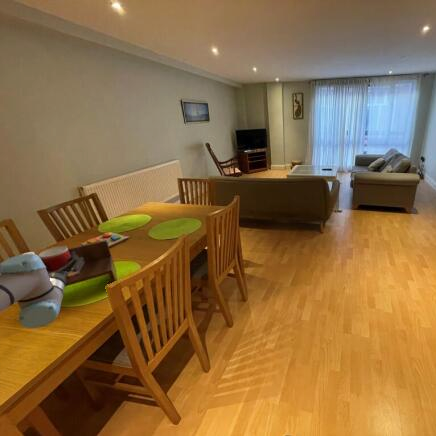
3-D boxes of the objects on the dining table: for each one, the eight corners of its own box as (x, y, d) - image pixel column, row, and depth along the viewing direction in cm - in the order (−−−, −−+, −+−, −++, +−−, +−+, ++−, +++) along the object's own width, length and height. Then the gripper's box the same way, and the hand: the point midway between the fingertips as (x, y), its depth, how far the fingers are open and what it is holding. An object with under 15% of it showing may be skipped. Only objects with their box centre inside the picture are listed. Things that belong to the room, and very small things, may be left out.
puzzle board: (102, 251, 136) (100, 246, 135) (80, 246, 142) (78, 241, 141) (130, 238, 152) (129, 233, 150) (109, 234, 157) (107, 229, 156)
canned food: (81, 269, 95) (72, 245, 91) (68, 281, 88) (56, 255, 84) (60, 271, 94) (49, 246, 90) (44, 284, 87) (31, 257, 83)
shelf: (29, 314, 92) (9, 277, 85) (38, 292, 104) (21, 258, 97) (117, 286, 107) (106, 253, 100) (116, 270, 119) (106, 239, 112)
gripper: (6, 311, 71) (26, 274, 88) (94, 285, 82) (96, 257, 99) (-6, 291, 68) (17, 257, 85) (86, 267, 79) (90, 241, 96)
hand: (60, 257), depth 92 cm, fingers closed on canned food, 8 cm apart
